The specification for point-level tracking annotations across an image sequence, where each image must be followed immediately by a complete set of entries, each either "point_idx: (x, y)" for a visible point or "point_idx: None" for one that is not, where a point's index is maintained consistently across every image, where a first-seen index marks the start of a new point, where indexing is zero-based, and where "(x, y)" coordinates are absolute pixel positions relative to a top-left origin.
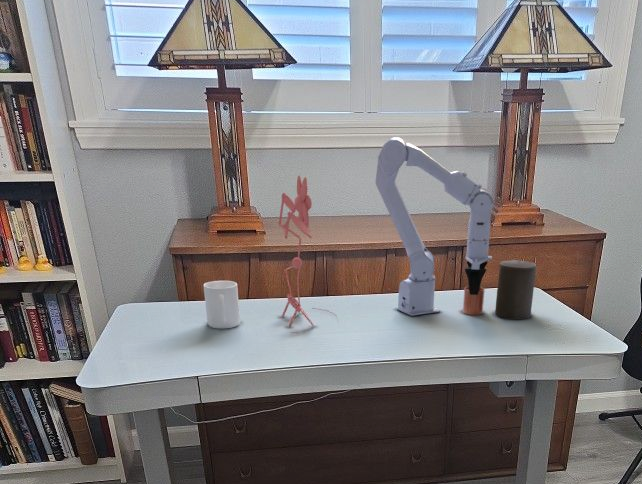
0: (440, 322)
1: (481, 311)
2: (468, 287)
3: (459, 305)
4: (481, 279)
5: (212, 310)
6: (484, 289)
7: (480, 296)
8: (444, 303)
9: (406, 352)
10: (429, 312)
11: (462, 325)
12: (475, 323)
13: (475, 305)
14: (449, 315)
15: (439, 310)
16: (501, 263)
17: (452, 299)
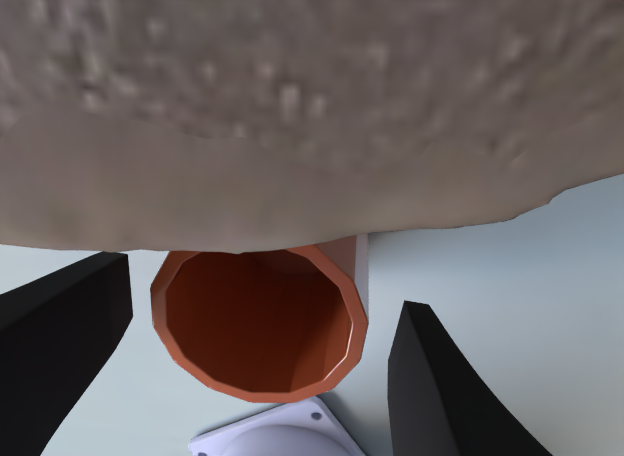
0: (527, 411)
1: None
2: (198, 361)
3: (136, 275)
4: (548, 452)
5: None
6: None
7: (352, 245)
8: (117, 348)
9: None
10: (353, 444)
11: (618, 312)
12: (585, 228)
13: (367, 243)
14: (378, 353)
15: (317, 402)
16: (104, 197)
17: None
